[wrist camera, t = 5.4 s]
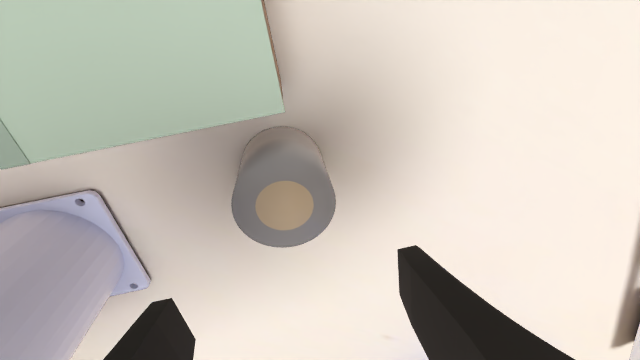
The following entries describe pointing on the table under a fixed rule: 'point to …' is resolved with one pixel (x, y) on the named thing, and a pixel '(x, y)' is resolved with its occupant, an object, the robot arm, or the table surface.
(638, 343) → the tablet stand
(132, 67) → the lid
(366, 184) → the table surface
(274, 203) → the tan-topped grey cylinder
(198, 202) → the table surface
